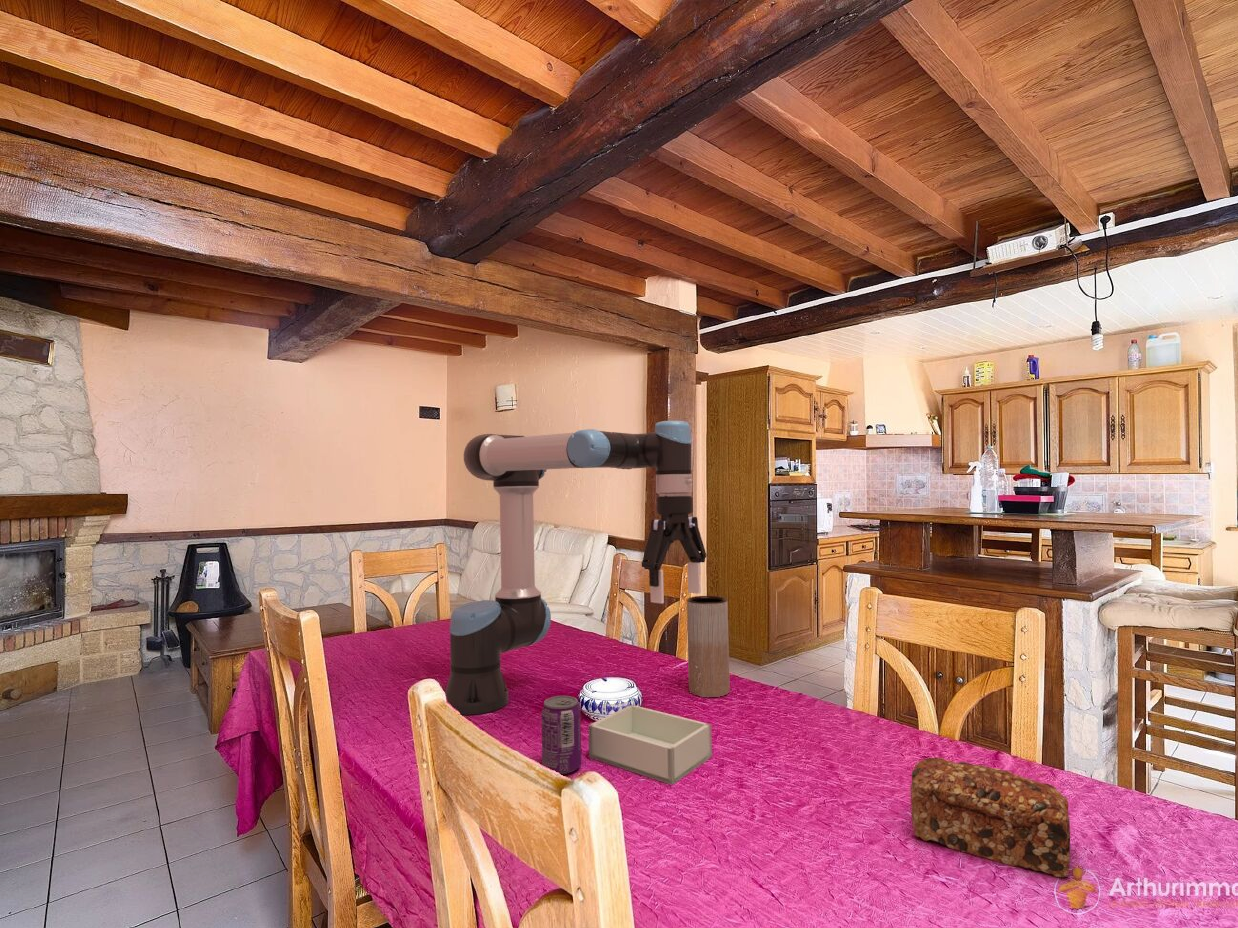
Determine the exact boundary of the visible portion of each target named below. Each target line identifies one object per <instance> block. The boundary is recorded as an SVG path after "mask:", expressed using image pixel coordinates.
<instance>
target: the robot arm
mask: <svg viewBox="0 0 1238 928" xmlns="http://www.w3.org/2000/svg"><path fill="white" fill-rule="evenodd" d="M691 434H692V433H691V425H690V423H689V422H687V421H685V420H664V421H663V420H662V421H659V422H656V423H655V425H654V431H653V432H647V433H629V432H627V433H625V432H615V431H605V430H604V431H603V430H598V429H594V428H593V429H592V428H591V429H588V428H587V429H580V430H577V431H575V432H567V433H566V432H565V433H555V434H542V435H541V434H540V435H531V436H526V435H525V436H524V435H513V434H512V435H511V434H509V435H508V434H497V433H496V434H494V433H485V434H484V433H483V434H479V435H476V436H474V437H473V438H472V439H470V440H469V442H467V443H466V445H465V448H464V450H463V463H464V466H465V468H466V469H467V471H468V472H469V473H470V474H471V475H472V476H474V477H475V478H477V479H480V480H482V481H491V482H492V481H493V490H495V491H496V492H497V494H498V495H499V529H500V530H499V534H500V535H499V536H500V537H499V538H500V539H499V541H500V545H499V547H500V589H499V590H498V591H497V592H496V594H495V596H494V597H495V598H494V599H495V600H491V599H489V600H488V599H484V600H477V601H471V602H468V603H464V604H462V605H459V606H457V607H456V608H455V609H454V610H453V611H452V612H451V615H450V624H449V625H450V626H449V634H450V637H449V638H450V639H449V640H450V645H449V646H450V675H449V677H448V681H447V685H446V688H445V692H444V694H445V693H446V696H447V699H448V702H449V703H450V704H451V705H452V706H453V707H454V708H456V709H457V710H458V711H459V712H460V713H461V714H460V715H463V716H465V715H467V716H469V715H481V714H486V713H490V712H494V711H498V710H500V709H501V708H504V707H505V706H507V704H509V691H508V688H507V685H506V681H505V678H504V676H503V672H502V668H501V661H502V660H501V654H502V653H507V652H509V651H513V650H516V649H520V648H527V647H530V646H532V645H533V644H535V643H536V644H537V643H538V642H540V641H542V640H544V638H545V637H546V635H548V632H549V630H550V628H551V624H552V623H551V622H552V615H551V614H552V613H551V609H550V607H549V606H548V603H547V601H546V600H545V599H543V598H542V595H541V594H542V592H541V591H540V590H539V589H538V588H537V587H536V581H535V579H536V577H535V571H536V570H535V532H534V531H535V528H534V525H535V524H534V523H535V521H534V520H535V518H534V494H535V492H536V491H537V490H538V489H539V486H540V483H539V482H540V480H541V479H542V478H543V477H544V476H545V473H546V472H547V470H560V469H561V470H565V469H566V470H567V469H594V468H595V469H596V468H597V469H599V468H600V469H601V468H605V469H606V468H609V469H619V470H632V469H648V468H655V493H656V494H658V496H657V498H656V513H657V514H658V515H660V516H661V517H660V519H651V521H650V531H649V535H648V539H647V541H646V546H645V550H644V552H643V558H642V561H641V567H642V568H644V570H648V577H649V579H648V581H649V586H650V589H649V590H650V592H649V594H650V603H655V604H660V605H661V604H664V603H665V598H664V597H665V596H664V592H665V591H664V569H661V568H662V566H663V563H664V561H665V559H666V556H667V554H668V551H669V550H670V547H671V545H672V544H673V543H674V542H676V541H679V542H680V544H681V546H682V548H683V550H684V552H685V554H686V555H687V557H688V560H689V562H687V592H688V594H689V593H690V594H698V595H699V594H701V593H702V591H701V590H702V589H701V563H705V562H706V558H707V552H706V549H705V545H704V542H703V539H702V536H701V532H700V529H699V523H698V522H699V521H698V517H697V516H689V515H691V514H692V513H693V512H694V510H693V509H694V506H693V505H694V503H693V502H694V501H693V497H692V496H691V495H690V494H692V493H693V479H692V477H693V476H692V473H693V472H692V444H693V441H692V435H691Z"/></svg>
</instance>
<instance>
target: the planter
mask: <svg viewBox="0 0 1238 928" xmlns="http://www.w3.org/2000/svg"><path fill="white" fill-rule="evenodd" d="M728 605H729V603H728V599H727V598H726V597H724V596H723V597H722V596H716V595H699V596H698V595H696V596H692V597H688V598H687V599H686V622H687V628H686V629H687V659H688V660H687V661H688V662H687V663H688V664H687V665H688V671H687V672H688V691H690V692H691V693H693V694H695V695H698V696H702V697H701V698H703V697H719V698H721V697H720V696H723V697H725V696H724V695H726V694H727V695H729V694H730V687H731V685H730V653H729V652H730V651H729V649H730V646H729V641H730V640H729V610H728V609H729V606H728ZM690 692H689V693H690ZM691 693H690V694H691ZM728 693H729V694H728ZM693 694H692V695H693ZM695 695H694V696H695ZM727 695H726V696H727ZM698 696H697V697H698Z"/></svg>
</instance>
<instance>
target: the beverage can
mask: <svg viewBox="0 0 1238 928" xmlns="http://www.w3.org/2000/svg"><path fill="white" fill-rule="evenodd" d="M578 701H579V700H578V698H576V697H574V696H569V695H556V696H551V697H549V698H546V699H545V700H544V701H543V707H542V710H541V766H542V765H544V766H546V767H548V768H550V769H552V770H555V771H556V772H559V773H560V774H559V775H566V774H570V773H572V772H574V771H576V770H577V769H579V768H580V767H581V766H582V726H581V720H582V719H581V717H582V716H581V708H580V707H579V704H578Z"/></svg>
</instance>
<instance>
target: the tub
mask: <svg viewBox="0 0 1238 928" xmlns="http://www.w3.org/2000/svg"><path fill="white" fill-rule="evenodd" d="M712 747H713V746H712V724H710V723H707V722H702V721H699V720H695V719H692V718H691V719H690V718H687V717H683V716H679V715H674V714H672V713H671V714H670V713H666V712H664V711H663V712H662V711H658V710H655V709H652V708H651V709H650V708H647V707H642V706H639V705H636V704H635V705H634V704H631V705H627V706H626V707H624V708H622V709H619V710H618V711H616V712H615V711H614V712H613V713H611V714H609V715H607V716H605V717H603V718H601V719H598V720H596V721H595V722H592V723H590V724H588V758H589V759H591V760H595V759H597V760H596V761H598V760H599V761H598V762H602V763H605V764H607V765H610V766H613V767H617V768H619V769H622V770H625V771H628V772H632V773H635V774H638V775H641V776H643V777H646V778H648V779H649V778H650V779H653V780H656V781H658V782H662V783H664V784H668V785H671V786H674V784H676V783H677V782H679V781H680V780H682V779H683V778H685V777H686V776H687V775H688V774H690V773H691V772H693V771H694V770H696V769H697V768H699V767H700V766H701V765H702V764H704V763H706V762H707V761H708V760H709V759H711V758H712V756H713V755H712V754H713V751H712V750H713V749H712Z"/></svg>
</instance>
